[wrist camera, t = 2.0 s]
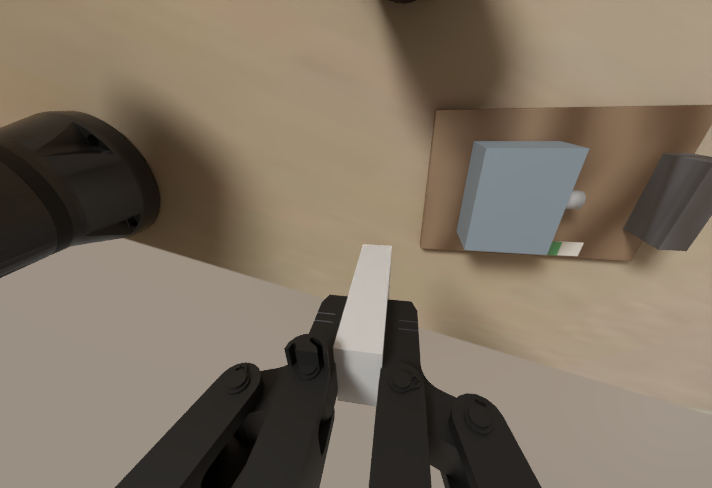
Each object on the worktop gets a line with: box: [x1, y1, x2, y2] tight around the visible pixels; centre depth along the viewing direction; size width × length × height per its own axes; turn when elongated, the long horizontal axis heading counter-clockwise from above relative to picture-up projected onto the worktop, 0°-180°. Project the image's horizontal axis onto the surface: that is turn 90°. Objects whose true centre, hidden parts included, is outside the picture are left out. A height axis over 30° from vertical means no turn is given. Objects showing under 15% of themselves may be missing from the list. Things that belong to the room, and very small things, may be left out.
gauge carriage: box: [457, 141, 590, 255], centre depth 23 cm, size 9×11×4 cm
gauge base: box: [420, 105, 712, 261], centre depth 23 cm, size 21×14×5 cm, turn 91°
